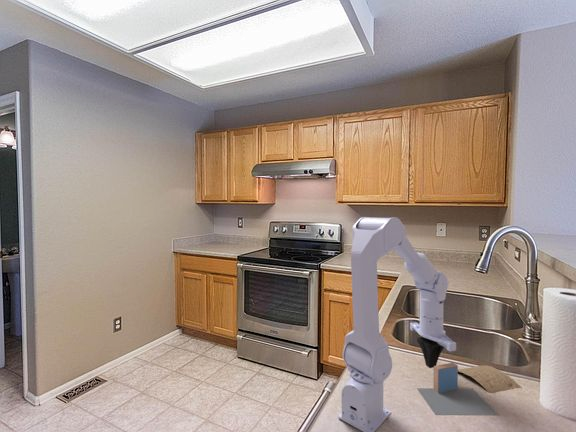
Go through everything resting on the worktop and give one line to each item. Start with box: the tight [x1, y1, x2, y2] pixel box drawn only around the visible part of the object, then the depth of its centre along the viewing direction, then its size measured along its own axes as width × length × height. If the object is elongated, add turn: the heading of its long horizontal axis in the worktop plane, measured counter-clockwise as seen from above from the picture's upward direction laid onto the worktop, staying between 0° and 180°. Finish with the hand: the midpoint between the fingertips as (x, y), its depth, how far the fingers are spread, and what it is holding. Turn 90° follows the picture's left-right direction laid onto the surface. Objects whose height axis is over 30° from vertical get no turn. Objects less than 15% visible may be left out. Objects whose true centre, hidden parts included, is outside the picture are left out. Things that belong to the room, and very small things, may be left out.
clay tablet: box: [458, 365, 522, 394], centre depth 82 cm, size 14×10×3 cm
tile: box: [433, 362, 459, 393], centre depth 77 cm, size 6×2×6 cm, turn 106°
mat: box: [416, 387, 500, 416], centre depth 72 cm, size 14×10×1 cm
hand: (431, 366), depth 81 cm, fingers closed
